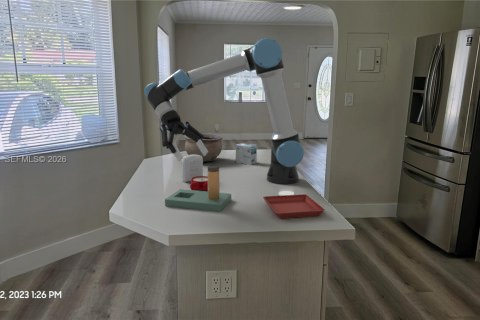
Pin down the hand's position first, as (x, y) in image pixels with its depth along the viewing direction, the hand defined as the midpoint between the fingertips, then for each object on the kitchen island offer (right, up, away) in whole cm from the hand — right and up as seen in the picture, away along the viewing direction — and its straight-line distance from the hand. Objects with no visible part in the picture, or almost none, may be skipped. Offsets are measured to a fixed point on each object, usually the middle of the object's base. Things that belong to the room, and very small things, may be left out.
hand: (193, 156), depth 146 cm
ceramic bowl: (-3, -2, +73) cm, 73 cm away
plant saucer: (+37, -20, -9) cm, 44 cm away
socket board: (+2, -18, -1) cm, 18 cm away
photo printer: (-4, -11, +31) cm, 33 cm away
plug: (+8, -16, -4) cm, 18 cm away
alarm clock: (+1, -14, +18) cm, 23 cm away
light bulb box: (+22, -3, +68) cm, 72 cm away
